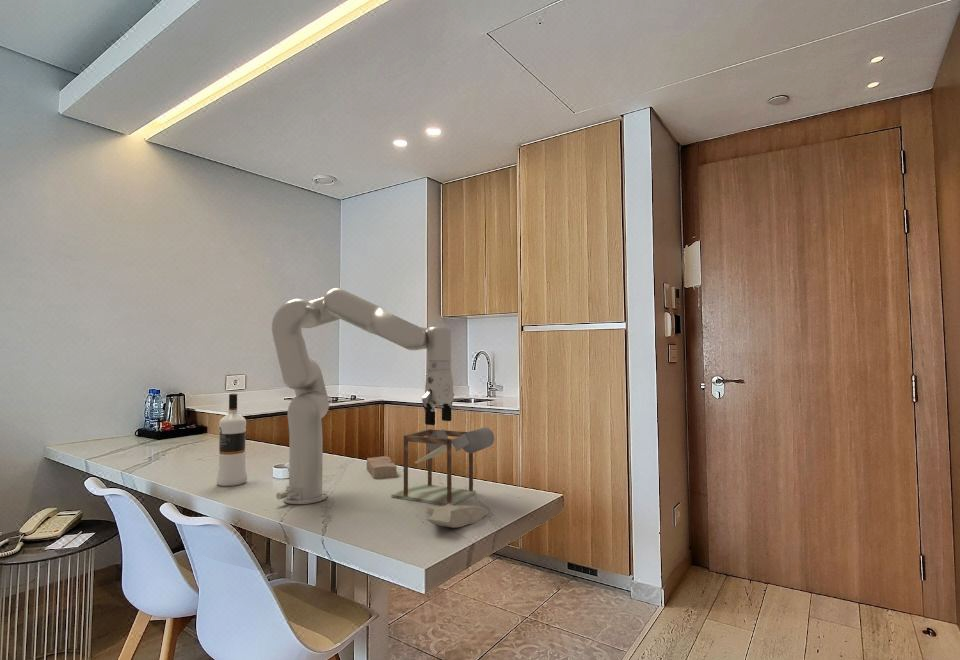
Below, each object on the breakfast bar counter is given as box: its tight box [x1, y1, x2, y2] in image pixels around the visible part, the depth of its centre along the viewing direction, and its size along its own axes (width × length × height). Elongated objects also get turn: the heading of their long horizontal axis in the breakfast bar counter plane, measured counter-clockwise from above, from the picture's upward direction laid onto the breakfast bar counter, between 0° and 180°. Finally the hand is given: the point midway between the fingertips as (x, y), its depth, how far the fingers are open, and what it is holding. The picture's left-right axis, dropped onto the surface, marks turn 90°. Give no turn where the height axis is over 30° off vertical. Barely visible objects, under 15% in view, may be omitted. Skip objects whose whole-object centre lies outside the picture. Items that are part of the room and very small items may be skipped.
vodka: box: [216, 393, 248, 487], centre depth 178 cm, size 9×9×30 cm
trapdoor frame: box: [390, 428, 476, 506], centre depth 162 cm, size 21×15×19 cm
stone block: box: [425, 429, 449, 452], centre depth 162 cm, size 5×5×5 cm
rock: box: [426, 504, 489, 528], centre depth 137 cm, size 21×5×15 cm
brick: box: [366, 455, 398, 480], centre depth 192 cm, size 17×8×5 cm, turn 21°
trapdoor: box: [414, 427, 495, 464], centre depth 159 cm, size 22×12×6 cm, turn 64°
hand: (438, 422), depth 162 cm, fingers open, 9 cm apart
